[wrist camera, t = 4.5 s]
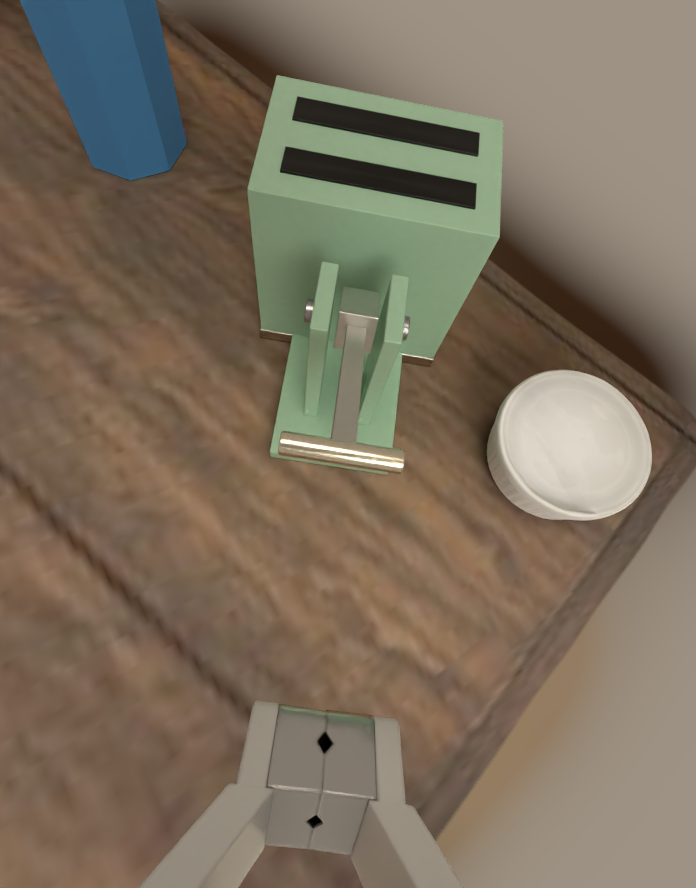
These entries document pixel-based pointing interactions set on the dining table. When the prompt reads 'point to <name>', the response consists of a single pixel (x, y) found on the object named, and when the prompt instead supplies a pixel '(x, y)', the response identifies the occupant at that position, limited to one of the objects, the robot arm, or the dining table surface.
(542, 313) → the dining table surface
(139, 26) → the water bottle
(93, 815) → the dining table surface
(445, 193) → the toaster
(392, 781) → the robot arm
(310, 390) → the switch bracket
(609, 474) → the ramekin
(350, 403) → the lever
